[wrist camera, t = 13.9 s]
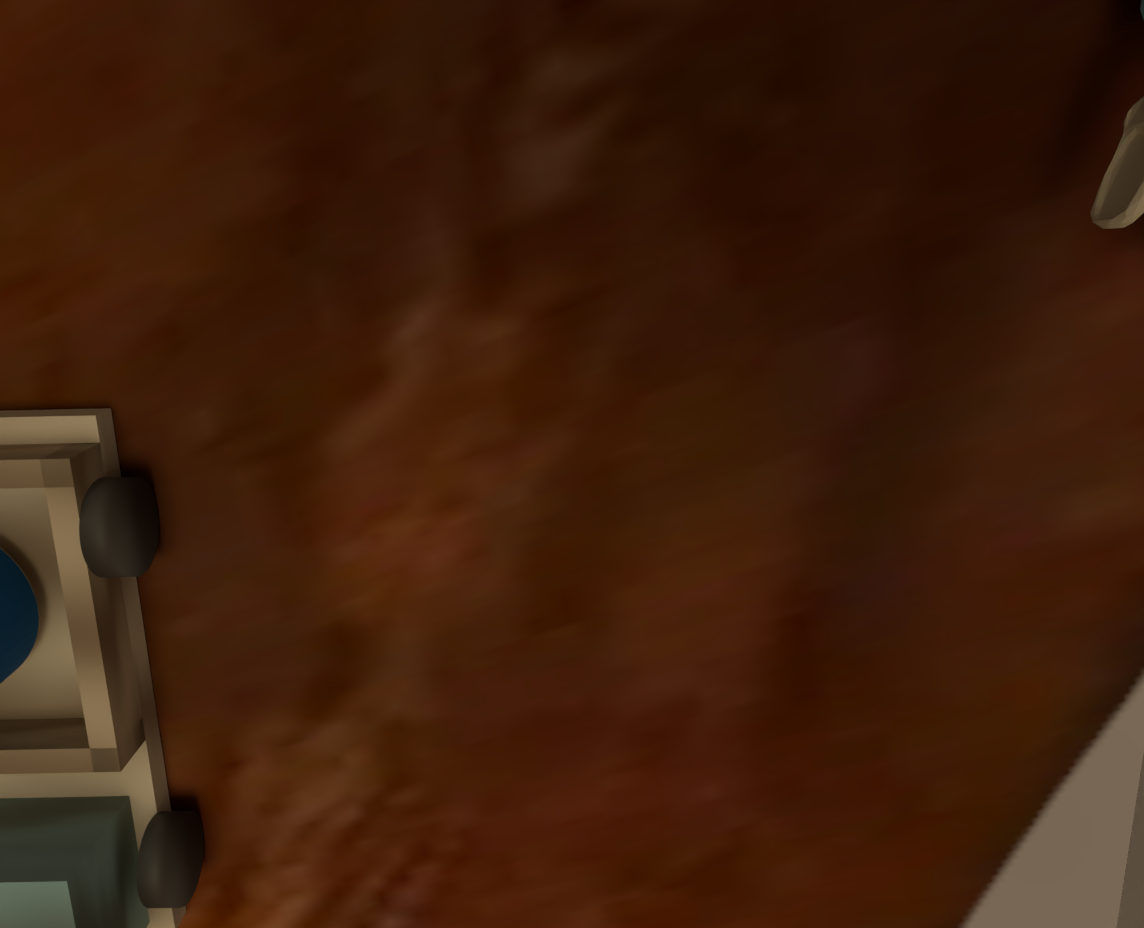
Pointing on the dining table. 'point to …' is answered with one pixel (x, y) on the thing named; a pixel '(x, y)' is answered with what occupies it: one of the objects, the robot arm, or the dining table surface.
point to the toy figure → (1124, 175)
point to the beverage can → (15, 616)
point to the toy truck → (84, 692)
